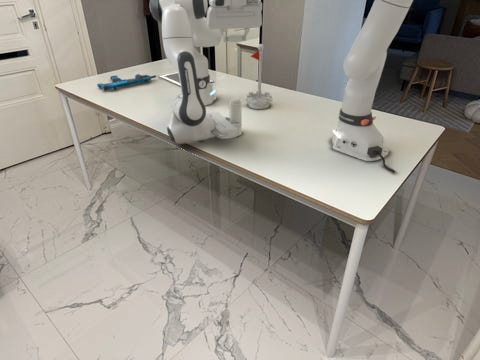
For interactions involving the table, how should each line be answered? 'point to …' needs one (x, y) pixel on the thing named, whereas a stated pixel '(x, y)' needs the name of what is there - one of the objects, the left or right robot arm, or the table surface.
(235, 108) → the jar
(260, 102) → the flag stand
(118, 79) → the submachine gun
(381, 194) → the table surface
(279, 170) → the table surface
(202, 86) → the left robot arm
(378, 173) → the table surface
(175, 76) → the tablet
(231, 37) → the lid
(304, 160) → the table surface
